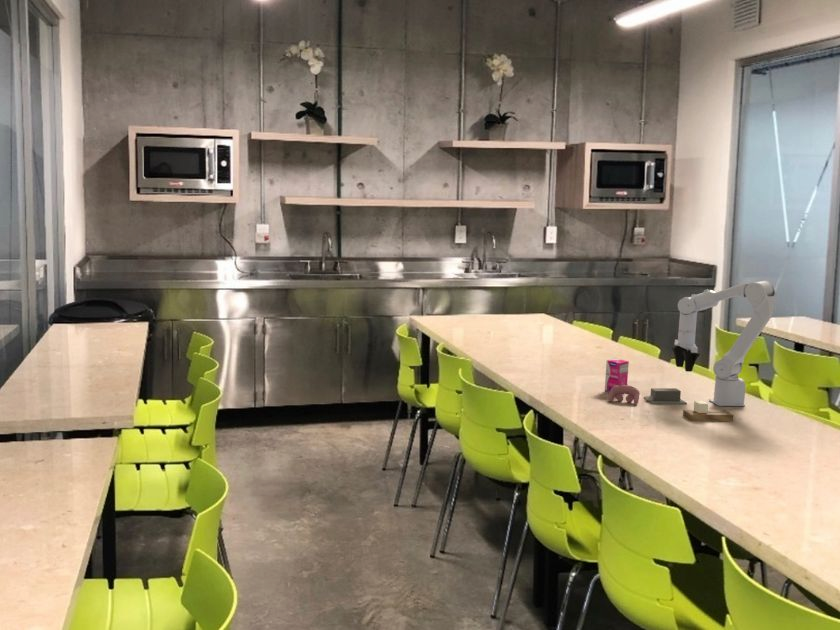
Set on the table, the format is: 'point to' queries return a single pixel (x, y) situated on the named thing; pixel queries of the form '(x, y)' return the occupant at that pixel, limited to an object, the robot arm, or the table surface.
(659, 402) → the mat
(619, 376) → the supplement box
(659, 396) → the bar
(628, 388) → the mauve arch
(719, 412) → the switch block
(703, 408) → the switch tab
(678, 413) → the table surface
